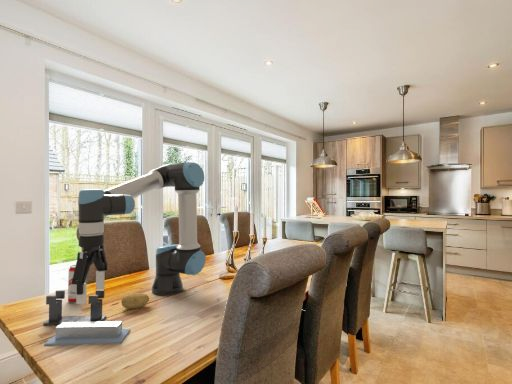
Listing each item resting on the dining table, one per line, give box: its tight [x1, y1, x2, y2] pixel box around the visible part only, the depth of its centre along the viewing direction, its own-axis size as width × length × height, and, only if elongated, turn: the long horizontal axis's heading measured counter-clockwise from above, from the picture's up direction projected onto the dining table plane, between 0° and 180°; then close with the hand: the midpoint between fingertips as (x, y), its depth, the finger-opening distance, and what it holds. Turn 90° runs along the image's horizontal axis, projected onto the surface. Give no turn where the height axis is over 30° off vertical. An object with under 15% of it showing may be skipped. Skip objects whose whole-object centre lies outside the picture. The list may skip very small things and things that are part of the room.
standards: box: [42, 289, 107, 327], centre depth 112 cm, size 20×7×11 cm, turn 95°
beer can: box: [67, 264, 76, 304], centre depth 133 cm, size 6×6×16 cm
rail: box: [54, 320, 123, 340], centre depth 100 cm, size 20×4×4 cm, turn 95°
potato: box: [120, 292, 150, 310], centre depth 127 cm, size 7×11×6 cm, turn 107°
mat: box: [43, 328, 131, 346], centre depth 100 cm, size 24×9×1 cm, turn 95°
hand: (91, 295), depth 101 cm, fingers open, 13 cm apart
